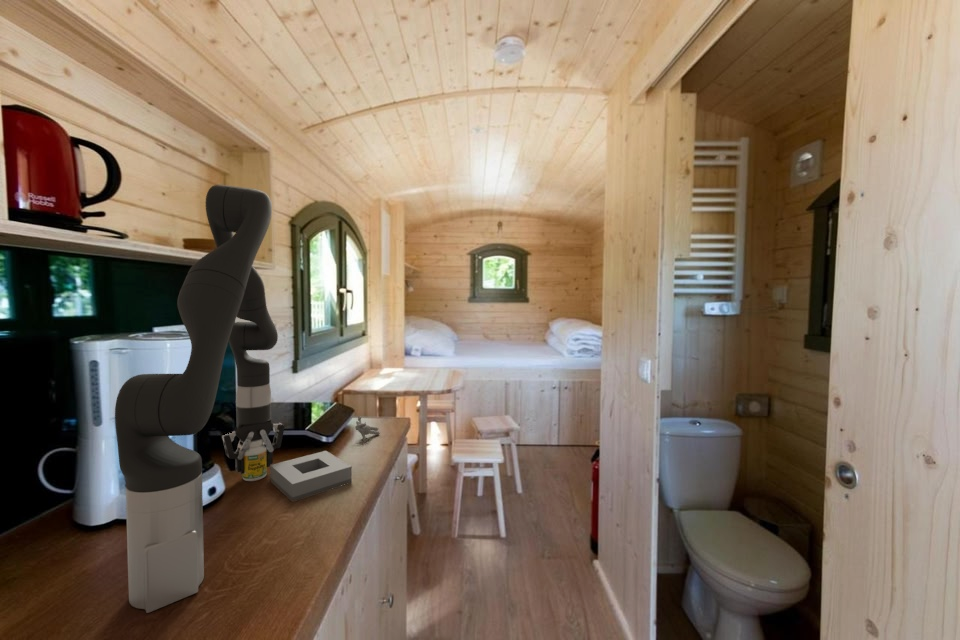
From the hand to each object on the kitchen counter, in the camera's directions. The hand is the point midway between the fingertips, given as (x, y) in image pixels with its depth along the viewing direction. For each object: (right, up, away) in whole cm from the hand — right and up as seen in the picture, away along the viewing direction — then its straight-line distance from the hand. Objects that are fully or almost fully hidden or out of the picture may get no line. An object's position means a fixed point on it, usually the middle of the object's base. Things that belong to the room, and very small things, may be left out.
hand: (254, 469), depth 102 cm
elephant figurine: (+19, -1, +30) cm, 36 cm away
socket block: (+15, -2, -2) cm, 15 cm away
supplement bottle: (0, -2, 0) cm, 2 cm away
